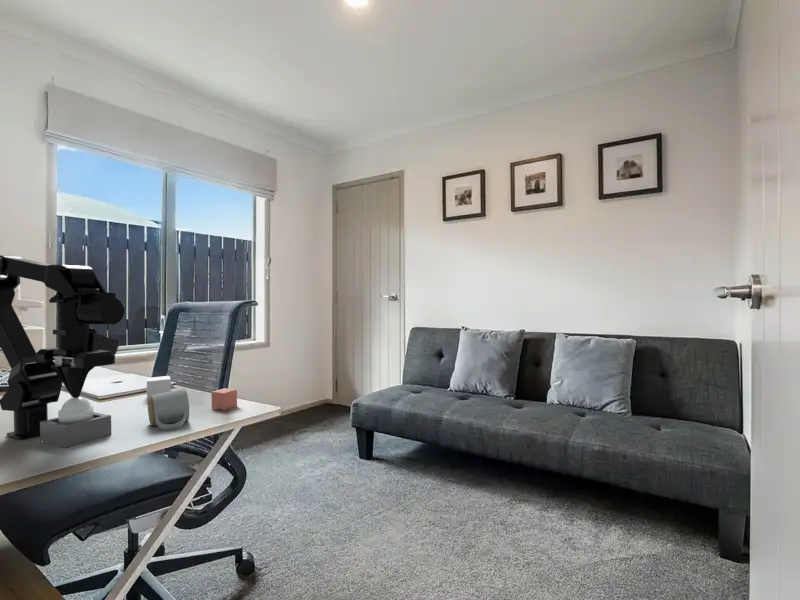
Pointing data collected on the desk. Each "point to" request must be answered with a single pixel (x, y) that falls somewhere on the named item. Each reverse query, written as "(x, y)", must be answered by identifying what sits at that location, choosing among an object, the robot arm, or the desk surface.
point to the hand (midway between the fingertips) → (75, 397)
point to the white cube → (158, 385)
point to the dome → (75, 411)
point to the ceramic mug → (168, 409)
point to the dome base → (75, 430)
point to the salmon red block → (224, 398)
